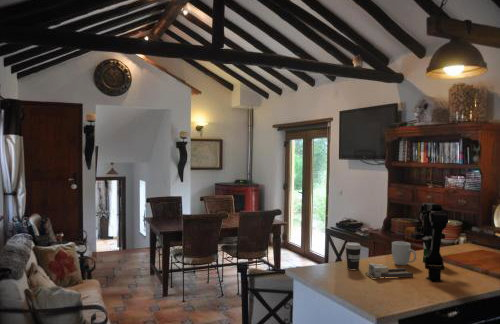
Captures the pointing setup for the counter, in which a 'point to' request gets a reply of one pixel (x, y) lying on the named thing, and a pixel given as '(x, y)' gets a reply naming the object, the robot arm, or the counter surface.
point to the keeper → (383, 269)
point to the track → (376, 272)
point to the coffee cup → (353, 255)
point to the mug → (402, 252)
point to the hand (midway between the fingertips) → (427, 250)
